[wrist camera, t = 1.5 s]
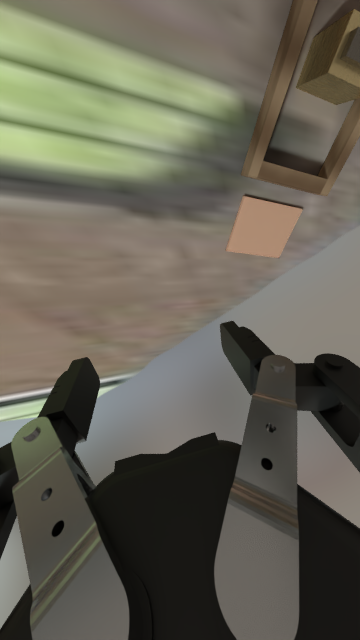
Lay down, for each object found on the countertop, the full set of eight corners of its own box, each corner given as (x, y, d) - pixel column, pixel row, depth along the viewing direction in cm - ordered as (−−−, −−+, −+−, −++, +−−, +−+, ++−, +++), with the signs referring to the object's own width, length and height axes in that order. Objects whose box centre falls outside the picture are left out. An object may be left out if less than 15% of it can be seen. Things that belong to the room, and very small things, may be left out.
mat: (243, 195, 32) (244, 196, 32) (301, 208, 35) (302, 209, 35) (225, 250, 37) (226, 251, 37) (277, 257, 40) (278, 258, 40)
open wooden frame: (348, -184, 16) (377, -232, 14) (456, -80, 20) (490, -107, 18) (240, 175, 30) (248, 175, 28) (316, 194, 34) (327, 196, 32)
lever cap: (313, 37, 23) (361, 3, 18) (356, 60, 25) (410, 34, 20) (295, 87, 25) (334, 69, 20) (335, 105, 27) (379, 92, 22)
